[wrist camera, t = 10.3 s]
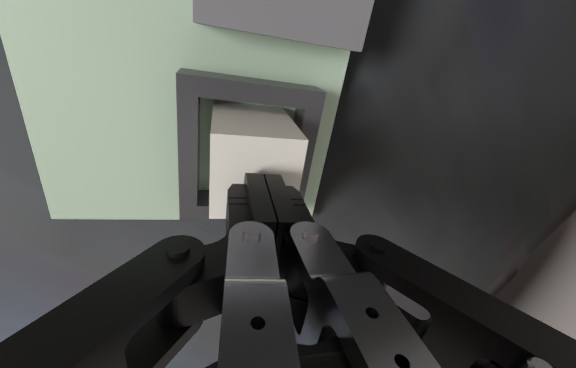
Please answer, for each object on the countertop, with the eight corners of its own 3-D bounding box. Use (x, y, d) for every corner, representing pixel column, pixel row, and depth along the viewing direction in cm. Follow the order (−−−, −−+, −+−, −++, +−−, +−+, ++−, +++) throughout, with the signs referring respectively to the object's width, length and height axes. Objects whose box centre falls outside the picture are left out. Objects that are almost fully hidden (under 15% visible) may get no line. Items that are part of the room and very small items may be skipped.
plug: (213, 100, 16) (210, 133, 11) (281, 106, 17) (308, 140, 12) (212, 175, 18) (208, 233, 13) (272, 177, 19) (291, 231, 14)
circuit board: (-73, -305, 9) (-259, -517, 6) (384, -133, 13) (442, -190, 10) (59, 210, 18) (20, 253, 15) (307, 213, 22) (323, 246, 19)
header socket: (181, 67, 15) (175, 72, 13) (315, 86, 17) (326, 92, 15) (183, 202, 19) (179, 219, 17) (293, 204, 20) (299, 220, 19)
